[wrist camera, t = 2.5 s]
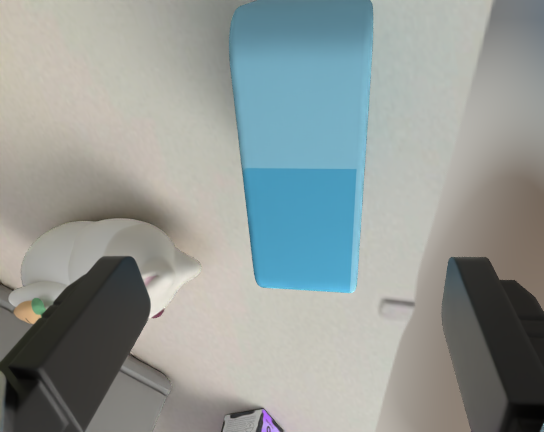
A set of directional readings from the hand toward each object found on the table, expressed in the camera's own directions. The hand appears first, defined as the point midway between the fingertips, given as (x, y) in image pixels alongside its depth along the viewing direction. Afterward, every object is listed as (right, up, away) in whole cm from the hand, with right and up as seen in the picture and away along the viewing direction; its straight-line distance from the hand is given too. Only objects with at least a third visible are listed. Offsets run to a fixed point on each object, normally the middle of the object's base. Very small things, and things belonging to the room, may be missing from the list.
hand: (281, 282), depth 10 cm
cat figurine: (-12, 0, +24) cm, 27 cm away
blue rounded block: (+3, +9, +15) cm, 18 cm away
